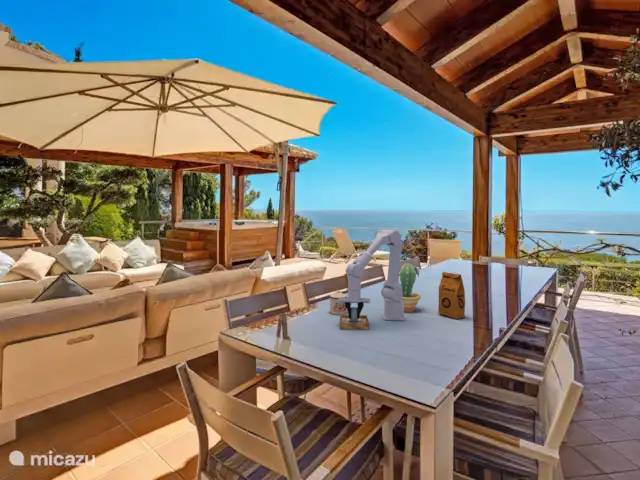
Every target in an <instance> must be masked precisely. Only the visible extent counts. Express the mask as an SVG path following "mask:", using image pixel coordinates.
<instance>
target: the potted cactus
mask: <svg viewBox="0 0 640 480" xmlns="http://www.w3.org/2000/svg"><path fill="white" fill-rule="evenodd" d="M417 277H418V278H419V277H420V270H419V268H418V267H417V266H416V265H413V264H412V263H404V264H403V265H402V267H400V270H399V281H400V284H401V286H402V292H403V297H402V299H401V300H400V301H403V302H404V313H405V312H406V313H407V312H408V313H411V312H414V311H415V307H416V306H417V305H418V303H419V300H420V299H421V297H422V295H420V294H419V293H415V292H413V287H414V284H415V282H416V278H417Z"/></svg>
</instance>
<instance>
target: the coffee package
mask: <svg viewBox="0 0 640 480" xmlns="http://www.w3.org/2000/svg"><path fill="white" fill-rule="evenodd" d="M441 275H442V276H441V279H440V281H439V286H438V306H437V308H438V311H437V313H438V314H440V315H442V316H446V317H448V318H451V319H455V320H459V318H460V319H464V318H465V315H466V313H465V312H466V311H465V310H466V294H465V293H466V292H465V291H466V290H465V286H464V282H463V281H464V280H463V278H462V274H459V273H452V272H447V271H443V272H441Z"/></svg>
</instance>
